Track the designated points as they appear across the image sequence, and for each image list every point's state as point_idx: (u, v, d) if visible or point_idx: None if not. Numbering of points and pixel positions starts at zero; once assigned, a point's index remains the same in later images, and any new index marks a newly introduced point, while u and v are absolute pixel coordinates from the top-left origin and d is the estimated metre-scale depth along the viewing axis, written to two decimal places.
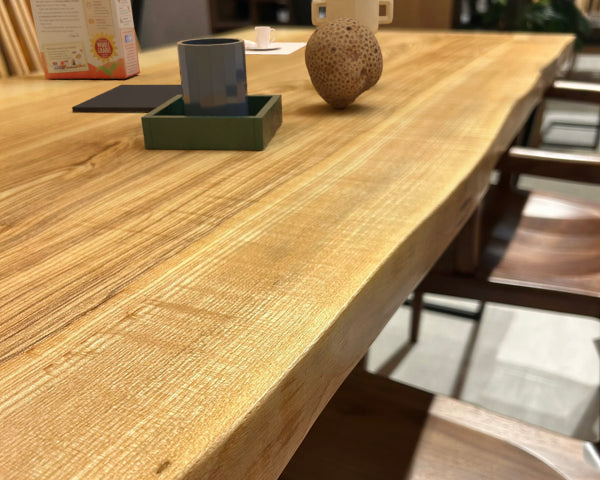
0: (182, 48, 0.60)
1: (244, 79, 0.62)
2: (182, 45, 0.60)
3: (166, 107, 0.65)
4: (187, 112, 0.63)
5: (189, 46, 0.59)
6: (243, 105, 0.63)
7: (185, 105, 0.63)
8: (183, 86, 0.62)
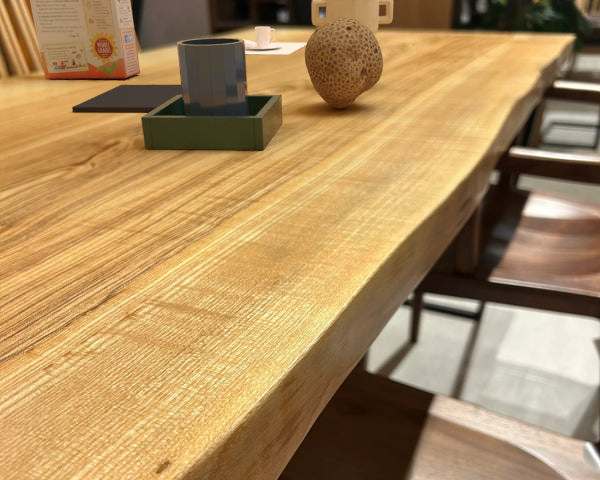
0: (182, 48, 0.60)
1: (244, 79, 0.62)
2: (182, 45, 0.60)
3: (166, 107, 0.65)
4: (187, 112, 0.63)
5: (189, 46, 0.59)
6: (243, 105, 0.63)
7: (185, 105, 0.63)
8: (183, 86, 0.62)
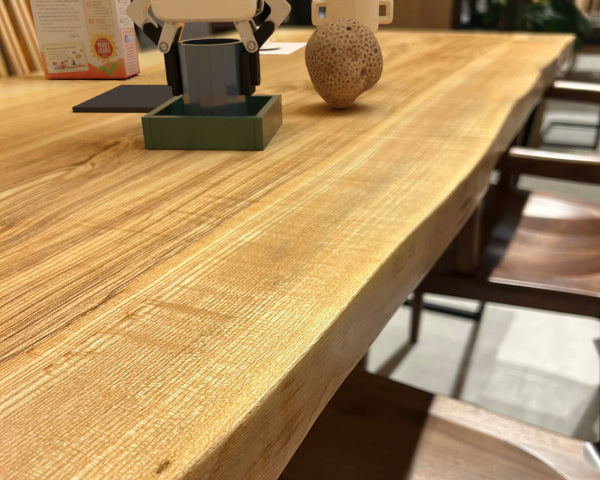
0: (182, 48, 0.60)
1: None
2: (182, 45, 0.60)
3: (166, 107, 0.65)
4: (187, 112, 0.63)
5: (189, 46, 0.59)
6: (243, 105, 0.63)
7: (185, 105, 0.63)
8: (183, 86, 0.62)
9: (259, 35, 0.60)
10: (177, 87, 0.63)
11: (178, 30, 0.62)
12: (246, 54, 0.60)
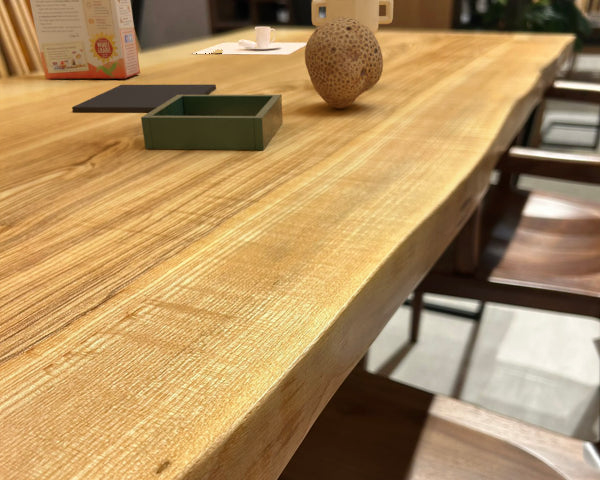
0: None
1: None
2: None
3: (166, 107, 0.65)
4: None
5: None
6: None
7: None
8: None
9: None
10: None
11: None
12: None
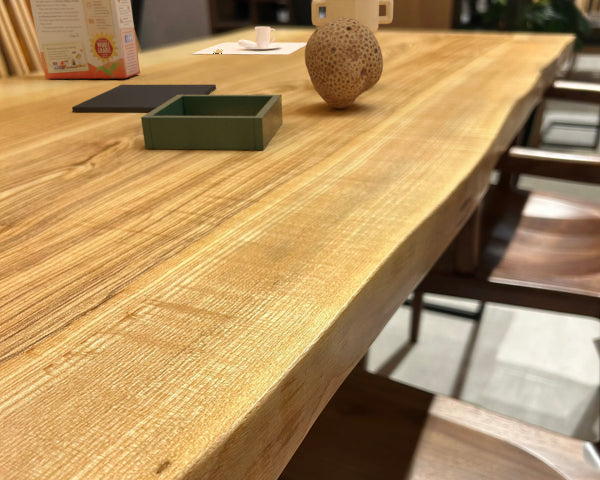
0: None
1: None
2: None
3: (166, 107, 0.65)
4: None
5: None
6: None
7: None
8: None
9: None
10: None
11: None
12: None
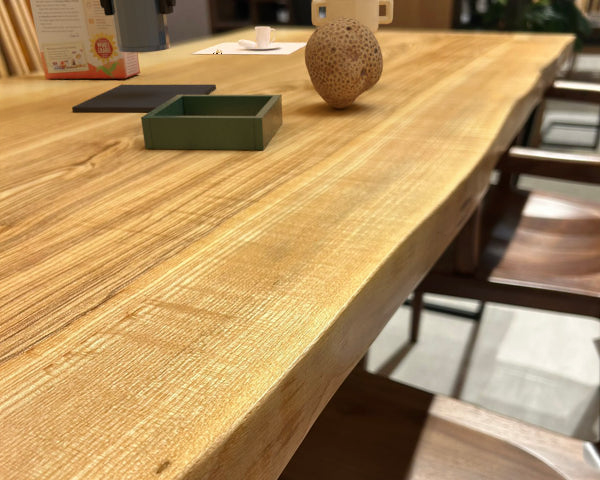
0: None
1: None
2: None
3: (166, 107, 0.65)
4: (116, 28, 0.78)
5: None
6: (161, 22, 0.79)
7: (115, 22, 0.78)
8: (112, 6, 0.78)
9: None
10: (108, 7, 0.78)
11: None
12: None
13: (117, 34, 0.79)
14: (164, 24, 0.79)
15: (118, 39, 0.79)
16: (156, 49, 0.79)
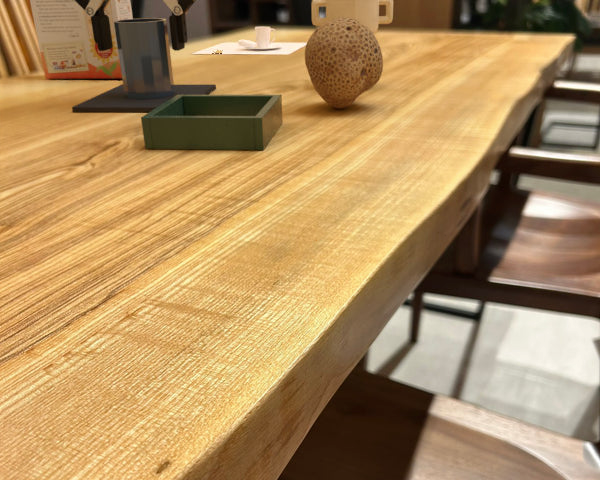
0: (117, 25, 0.78)
1: (167, 50, 0.81)
2: (116, 23, 0.78)
3: (166, 107, 0.65)
4: (123, 75, 0.81)
5: (121, 23, 0.77)
6: (166, 70, 0.81)
7: (121, 70, 0.81)
8: (119, 55, 0.80)
9: (183, 2, 0.77)
10: (102, 43, 0.80)
11: (105, 1, 0.80)
12: (173, 16, 0.77)
13: (123, 81, 0.81)
14: (169, 72, 0.82)
15: (124, 86, 0.82)
16: (161, 96, 0.82)
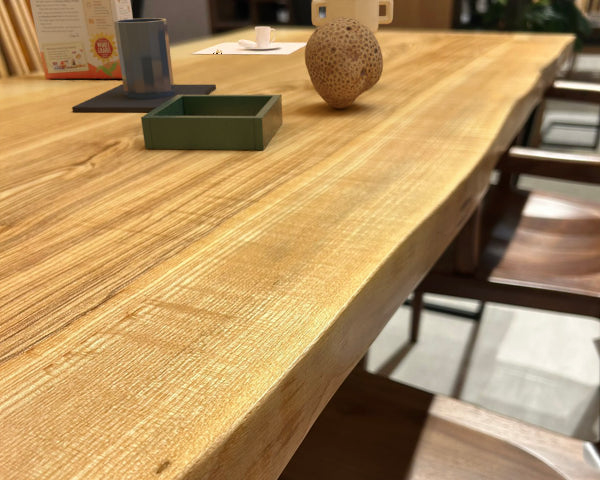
0: (117, 25, 0.78)
1: (167, 50, 0.81)
2: (116, 23, 0.78)
3: (166, 107, 0.65)
4: (123, 75, 0.81)
5: (121, 23, 0.77)
6: (166, 70, 0.81)
7: (121, 70, 0.81)
8: (119, 55, 0.80)
9: None
10: None
11: None
12: None
13: (123, 81, 0.81)
14: (169, 72, 0.82)
15: (124, 86, 0.82)
16: (161, 96, 0.82)
